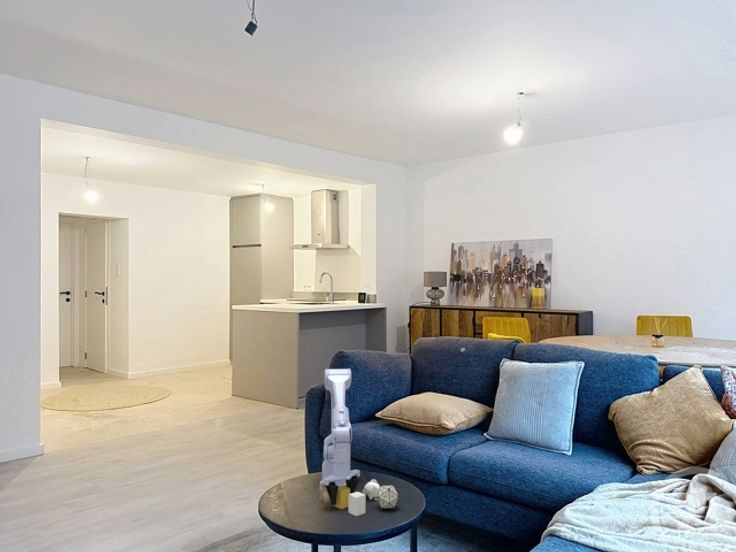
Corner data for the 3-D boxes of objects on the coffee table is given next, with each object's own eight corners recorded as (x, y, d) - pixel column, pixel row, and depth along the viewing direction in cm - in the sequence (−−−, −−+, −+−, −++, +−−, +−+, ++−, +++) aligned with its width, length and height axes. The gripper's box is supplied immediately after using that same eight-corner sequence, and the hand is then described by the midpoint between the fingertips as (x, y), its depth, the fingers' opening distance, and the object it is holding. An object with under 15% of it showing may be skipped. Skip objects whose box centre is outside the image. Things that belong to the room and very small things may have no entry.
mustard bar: (333, 505, 192) (333, 487, 192) (342, 502, 195) (342, 485, 195) (340, 509, 189) (340, 491, 189) (350, 506, 192) (350, 488, 192)
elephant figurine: (364, 494, 203) (364, 477, 203) (386, 496, 201) (386, 479, 201) (359, 500, 197) (359, 483, 197) (381, 503, 194) (381, 485, 195)
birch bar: (319, 499, 198) (319, 482, 198) (328, 496, 201) (328, 479, 201) (326, 502, 195) (326, 484, 195) (335, 499, 198) (335, 482, 198)
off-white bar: (348, 512, 186) (348, 494, 186) (357, 509, 189) (357, 491, 189) (356, 516, 183) (356, 497, 183) (365, 513, 186) (365, 494, 186)
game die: (390, 522, 188) (394, 504, 182) (368, 509, 191) (371, 492, 185) (402, 501, 195) (406, 483, 189) (380, 489, 197) (383, 472, 192)
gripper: (332, 468, 185) (332, 510, 184) (365, 459, 194) (365, 499, 194) (319, 463, 190) (319, 504, 190) (352, 455, 200) (352, 494, 199)
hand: (341, 501), depth 192 cm, fingers open, 7 cm apart
